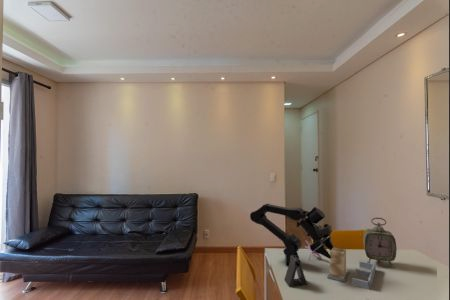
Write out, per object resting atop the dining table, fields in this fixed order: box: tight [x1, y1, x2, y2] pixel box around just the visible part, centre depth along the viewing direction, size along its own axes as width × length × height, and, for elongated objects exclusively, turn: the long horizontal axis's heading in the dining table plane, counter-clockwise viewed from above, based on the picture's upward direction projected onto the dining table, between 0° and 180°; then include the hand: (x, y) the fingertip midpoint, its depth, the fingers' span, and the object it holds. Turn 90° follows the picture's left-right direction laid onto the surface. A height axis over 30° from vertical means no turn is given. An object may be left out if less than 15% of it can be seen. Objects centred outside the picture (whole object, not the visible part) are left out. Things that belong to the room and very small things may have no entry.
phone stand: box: [284, 255, 309, 288], centre depth 123 cm, size 9×6×12 cm, turn 97°
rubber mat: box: [326, 271, 350, 283], centre depth 129 cm, size 8×11×1 cm
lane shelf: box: [351, 260, 377, 290], centre depth 127 cm, size 7×22×4 cm, turn 145°
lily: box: [304, 239, 322, 260], centre depth 150 cm, size 12×12×10 cm
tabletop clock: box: [362, 217, 398, 268], centre depth 142 cm, size 14×9×25 cm, turn 68°
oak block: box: [329, 246, 347, 279], centre depth 129 cm, size 6×6×12 cm
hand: (332, 255), depth 130 cm, fingers open, 9 cm apart
